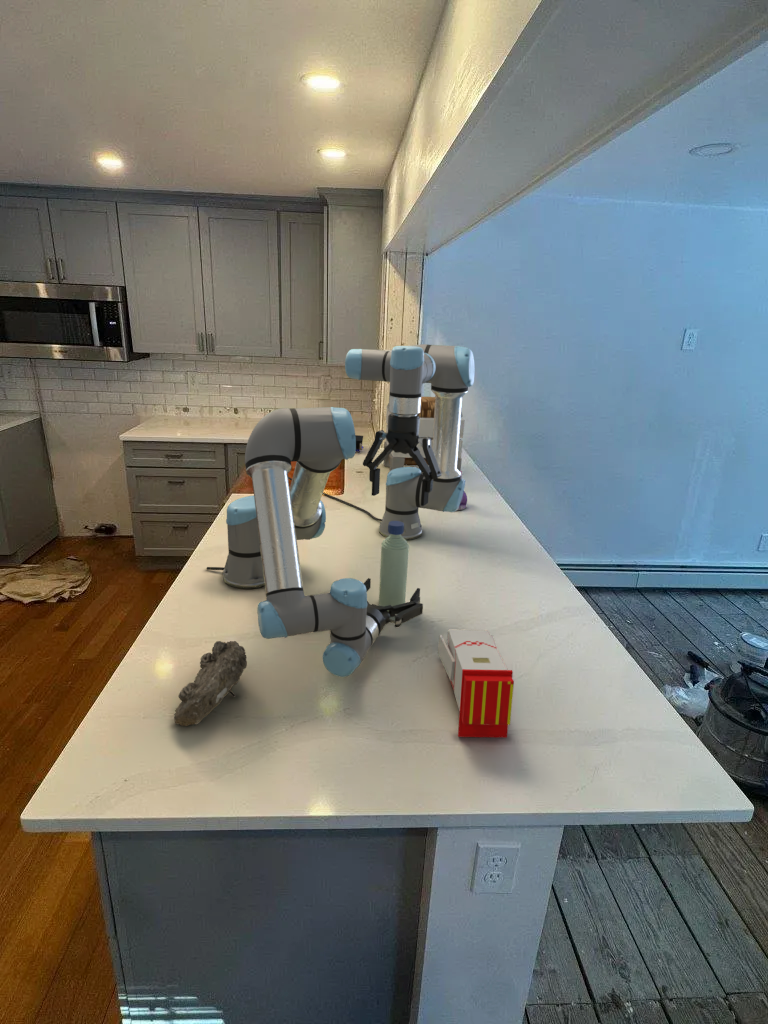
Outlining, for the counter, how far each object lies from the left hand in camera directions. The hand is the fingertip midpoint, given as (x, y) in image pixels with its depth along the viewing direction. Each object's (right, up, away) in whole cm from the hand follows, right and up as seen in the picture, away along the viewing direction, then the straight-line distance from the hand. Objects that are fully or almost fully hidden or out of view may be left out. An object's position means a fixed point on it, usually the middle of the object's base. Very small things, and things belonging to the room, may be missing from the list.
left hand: (393, 587), depth 148 cm
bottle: (0, -5, +3) cm, 6 cm away
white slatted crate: (+15, +39, +126) cm, 133 cm away
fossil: (-36, -17, -34) cm, 53 cm away
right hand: (+1, +23, -7) cm, 24 cm away
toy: (+15, -18, -30) cm, 38 cm away
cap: (+1, +17, -5) cm, 17 cm away
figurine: (+27, +22, +81) cm, 88 cm away
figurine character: (-17, +53, +163) cm, 173 cm away
